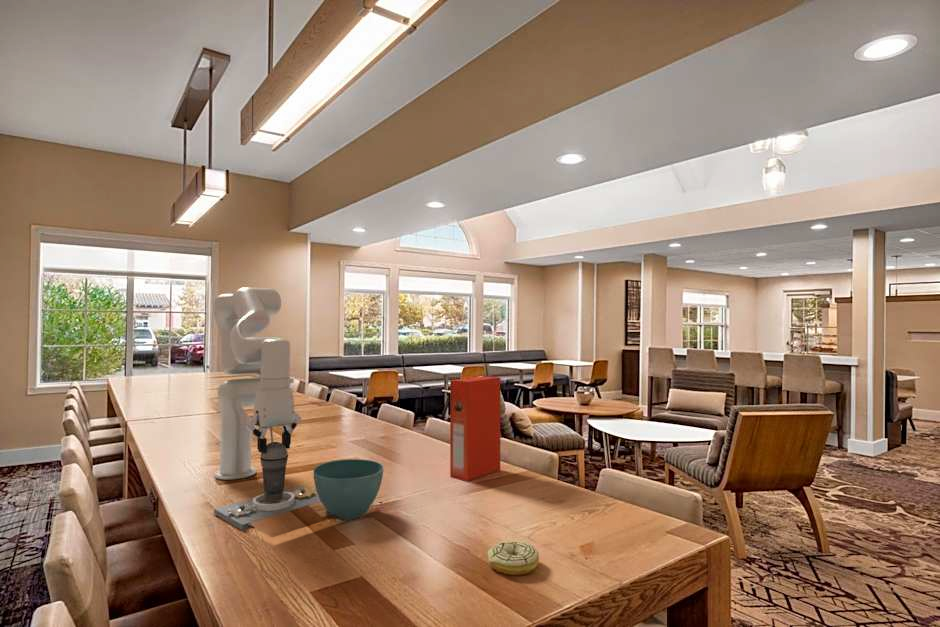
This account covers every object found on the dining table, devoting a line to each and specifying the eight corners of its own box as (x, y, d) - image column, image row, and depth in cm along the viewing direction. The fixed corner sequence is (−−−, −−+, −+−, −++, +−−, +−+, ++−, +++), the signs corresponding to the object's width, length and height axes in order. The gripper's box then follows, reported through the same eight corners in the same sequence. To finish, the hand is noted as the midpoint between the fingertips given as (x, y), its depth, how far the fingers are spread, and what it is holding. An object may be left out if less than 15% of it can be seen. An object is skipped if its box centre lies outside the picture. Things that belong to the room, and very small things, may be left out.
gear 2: (285, 495, 149) (285, 490, 149) (307, 489, 154) (307, 484, 154) (298, 501, 144) (298, 495, 144) (320, 495, 149) (320, 489, 149)
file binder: (449, 476, 173) (450, 380, 173) (482, 465, 186) (482, 376, 187) (468, 481, 168) (468, 382, 168) (500, 470, 181) (501, 377, 181)
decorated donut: (495, 552, 117) (495, 535, 118) (542, 559, 114) (543, 542, 114) (481, 573, 108) (482, 554, 108) (533, 581, 104) (533, 562, 104)
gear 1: (222, 512, 135) (222, 506, 135) (248, 505, 141) (248, 499, 141) (234, 519, 131) (234, 513, 131) (261, 512, 136) (261, 505, 136)
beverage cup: (278, 505, 138) (279, 429, 138) (253, 502, 140) (254, 428, 140) (292, 496, 145) (293, 424, 146) (269, 494, 147) (270, 422, 147)
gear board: (214, 514, 138) (214, 503, 138) (299, 491, 157) (299, 481, 157) (242, 530, 128) (242, 518, 128) (330, 504, 146) (330, 493, 147)
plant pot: (394, 506, 145) (395, 462, 145) (360, 531, 128) (361, 481, 128) (338, 499, 151) (338, 456, 151) (298, 522, 134) (298, 473, 134)
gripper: (296, 380, 152) (295, 442, 152) (237, 385, 139) (236, 453, 139) (310, 382, 147) (309, 446, 147) (251, 388, 134) (250, 458, 134)
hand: (274, 449), depth 143 cm, fingers closed on beverage cup, 6 cm apart
